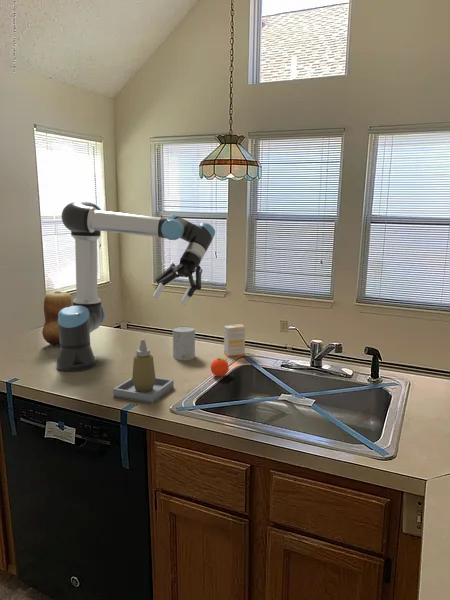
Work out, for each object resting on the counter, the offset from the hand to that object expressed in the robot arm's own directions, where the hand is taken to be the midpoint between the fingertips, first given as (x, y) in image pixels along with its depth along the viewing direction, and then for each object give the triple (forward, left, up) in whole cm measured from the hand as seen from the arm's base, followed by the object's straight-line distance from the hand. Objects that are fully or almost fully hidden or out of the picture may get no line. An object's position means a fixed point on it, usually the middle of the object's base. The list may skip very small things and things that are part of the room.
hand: (168, 300), depth 171 cm
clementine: (+18, +7, -29) cm, 35 cm away
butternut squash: (-66, +15, -29) cm, 73 cm away
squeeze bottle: (0, -18, -28) cm, 34 cm away
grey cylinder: (-5, +22, -29) cm, 37 cm away
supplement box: (+14, +33, -29) cm, 46 cm away
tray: (0, -18, -29) cm, 34 cm away
